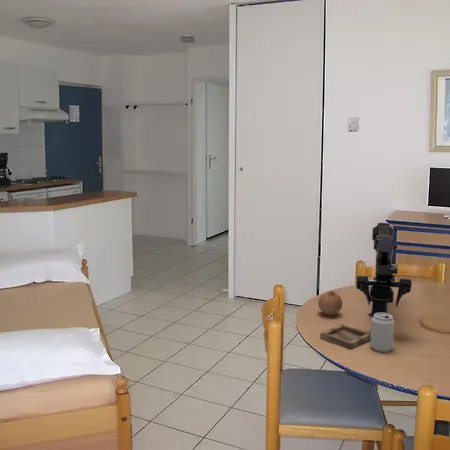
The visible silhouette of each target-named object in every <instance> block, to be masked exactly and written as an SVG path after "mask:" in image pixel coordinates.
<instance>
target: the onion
mask: <svg viewBox="0 0 450 450" xmlns="http://www.w3.org/2000/svg"><path fill="white" fill-rule="evenodd" d="M317 305H318V309H319V310H320V311H321V312H322V313H323V314H325V315H326V316H327V315H328V316H332V315H335V314H337V313H339V312H340V311H341V310H342V308H343V299H342V297H341V296H340V295H339V294H338V293H336V292H335V291H332V290H329V291H327V292H325V293H323V294H321V295H320V297H319V298H318V301H317Z"/></svg>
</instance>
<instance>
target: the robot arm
mask: <svg viewBox="0 0 450 450" xmlns="http://www.w3.org/2000/svg"><path fill="white" fill-rule="evenodd" d="M371 237H372V238H371V240H372V241H373V250H375V253H376V254H375V276H374V277H373V279H369V276H368V275H357V276H356V290H359V291H360V292H362V293H363V295H364V296H365V299H366V301H367V304H368V306H370V305H372V306H371V312H369V313H368V314H367V315H368V316H370V317H374V314H375V313H388V308H389V305H388V304H392V303H393V302H394V295H395V292H394V290H393V288H398V290H397V296H396V302H395V307H396V308H398V306H399V303H400V301H401V298H402V297H403V296H404V295H406V294H409V293H411V290H412V285H413V283H412V281H413V280H411V279H410V278H399V281H393V275H397V274H398V264H397V263H396V264H394V263H393V256H394V251H396V250H397V249H398V244H397V242H396V240H394V228H393V227H392V226H391V223H389V222H379V223H377V224H376V226H374V227H373V228H372V233H371ZM371 302H372V304H371Z"/></svg>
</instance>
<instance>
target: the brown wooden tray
mask: <svg viewBox="0 0 450 450" xmlns="http://www.w3.org/2000/svg"><path fill="white" fill-rule="evenodd" d="M319 339H320V340H323V341H326V342H329V343H332V344H334V345H337V346H339V347H343V348H346V349H348V350H352V349H355V348H357V347H359V346H362V345H363V344H366V343H368V342H370V339H371V332H366V331H364V330H362V329H358V328H354V327H352V326H348V325H345V324H342V323H341V324H339V325H337V326H335V327H332V328H329V329H327V330H325V331H322V332H320V334H319Z"/></svg>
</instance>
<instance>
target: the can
mask: <svg viewBox="0 0 450 450" xmlns="http://www.w3.org/2000/svg"><path fill="white" fill-rule="evenodd" d="M370 322H371V325H370V333H371V339H370V341H369V343H370V344H369V346H370V347H371V348H372V349H373V350H375V351H376V352H381V353H388V352H390V351H391V350H392V349H393V348H394V338H395V337H394V336H395V335H394V334H395V319H394V316H393V315H392V314H391V313H388V312H387V313H375V314H374V317H373V316H371V321H370Z"/></svg>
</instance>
